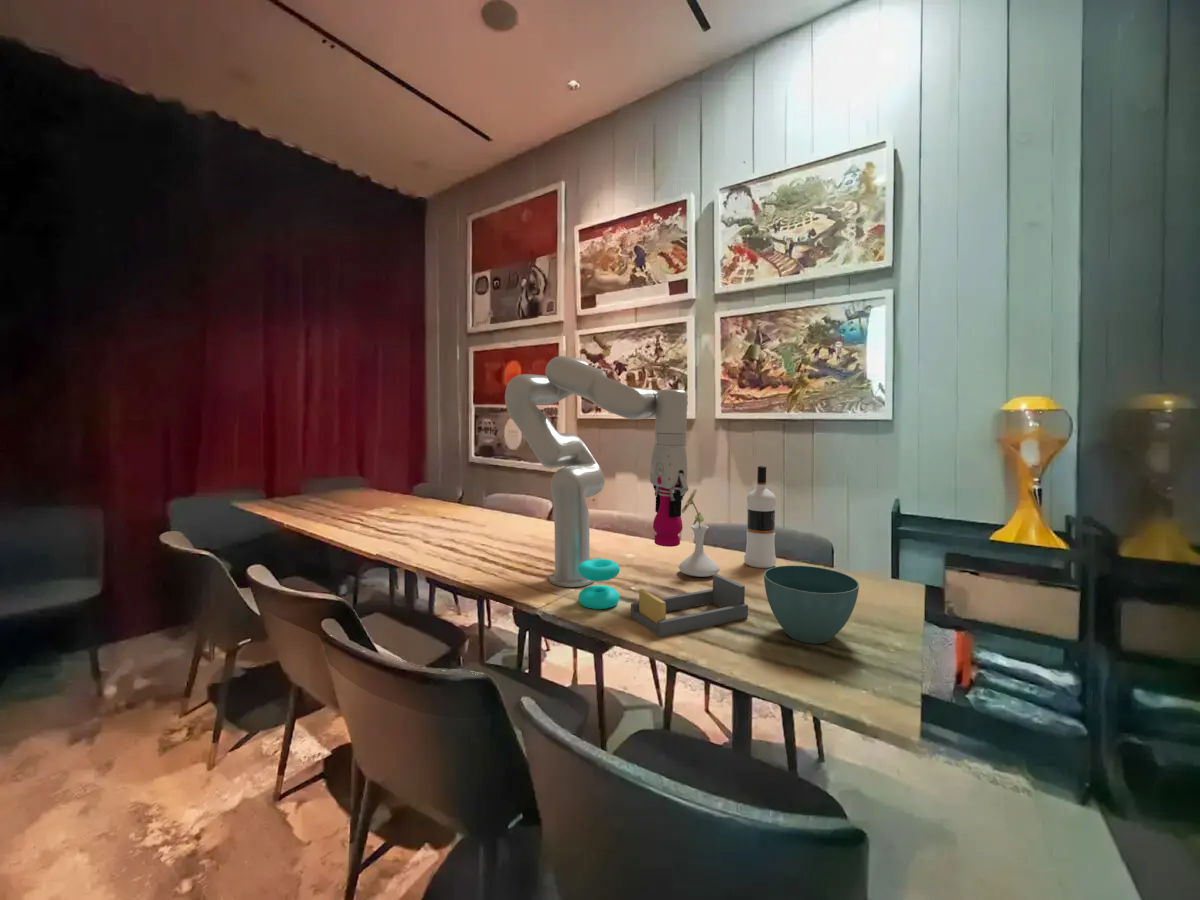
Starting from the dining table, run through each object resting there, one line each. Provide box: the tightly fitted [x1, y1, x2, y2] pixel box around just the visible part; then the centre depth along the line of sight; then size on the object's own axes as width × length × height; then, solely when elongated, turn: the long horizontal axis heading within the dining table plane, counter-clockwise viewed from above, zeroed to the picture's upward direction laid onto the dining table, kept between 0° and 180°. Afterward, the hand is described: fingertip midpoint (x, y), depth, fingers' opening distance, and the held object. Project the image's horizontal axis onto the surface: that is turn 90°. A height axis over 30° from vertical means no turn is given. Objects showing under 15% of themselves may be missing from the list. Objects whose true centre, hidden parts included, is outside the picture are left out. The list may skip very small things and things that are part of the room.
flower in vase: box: [678, 488, 720, 578], centre depth 152 cm, size 13×11×25 cm
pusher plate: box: [638, 588, 667, 623], centre depth 117 cm, size 9×1×6 cm, turn 26°
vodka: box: [743, 465, 777, 569], centre depth 162 cm, size 9×9×30 cm
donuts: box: [577, 558, 621, 610], centre depth 131 cm, size 10×10×10 cm
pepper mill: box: [652, 477, 683, 547], centre depth 132 cm, size 7×7×20 cm
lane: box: [630, 573, 749, 638], centre depth 122 cm, size 12×23×7 cm, turn 116°
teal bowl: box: [763, 564, 860, 645], centre depth 112 cm, size 18×18×12 cm
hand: (667, 513), depth 133 cm, fingers closed on pepper mill, 5 cm apart
